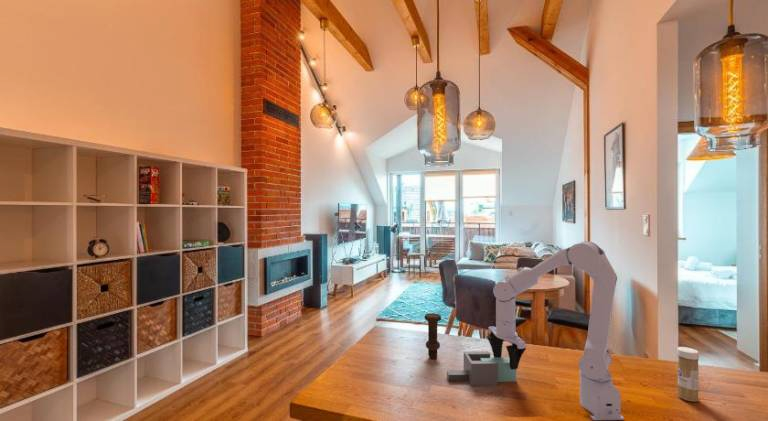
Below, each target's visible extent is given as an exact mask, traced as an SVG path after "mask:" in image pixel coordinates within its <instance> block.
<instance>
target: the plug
mask: <svg viewBox="0 0 768 421" xmlns="http://www.w3.org/2000/svg"><path fill="white" fill-rule="evenodd" d="M480 361H497V363H498V383H499V382H502V383H503V382H506V383H507V382H508V383H509V382H517V369H514V370H512V369H511V368H510V360H509V356H508V357H507V356H506V357H503V356H501V357H494V356H493V357H490V358H480Z"/></svg>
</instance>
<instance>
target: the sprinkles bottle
mask: <svg viewBox="0 0 768 421" xmlns="http://www.w3.org/2000/svg"><path fill="white" fill-rule="evenodd" d="M676 354H677V359H678V360H677V394H676V395H677V396H678V397H679V398H680V399H682V400H684V401H688V402H694V403H695V402H699V360H700V352H699V351H698V350H697V349H694V348H691V347H685V346H678V347H677V350H676Z"/></svg>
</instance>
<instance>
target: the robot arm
mask: <svg viewBox="0 0 768 421" xmlns="http://www.w3.org/2000/svg"><path fill="white" fill-rule="evenodd" d="M572 265H573V266H575V267H577V268H579V269H580V270H583V271H584V272H585V273H586V274H587V275H588V276H589V277H590V278H591V279H592V280H593V285H592V286H593V287H592V296H591V303H590V311H589V312H590V313H589V321H588V326H587V327H588V330H587V337H586V342H585V345H584V350H583V354H582V356H581V357H580V358H579V359H578V367H579V403H580V406H582V408H584V409H585V410H586V411H589V412H590V413H591V414H588V417H590V418H591V420H593V421H619V420H620V421H623V420H624V419H625V417H624V416H623V415H622V413H621V412H622V410H621V407H622V404H621V401H622V400H621V392H620V391H619V389H618V388H617V387H616V386H615V385H614V382H613V379H612V378H613V377H612V374H611V372H610V370H609V367H610V366H611V364H612V355H611V353H610V343H609V338H610V332H611V330H610V329H611V321H612V312H613V304H614V297H615V296H614V295H615V289H616V288H615V287H616V280H617V274H616V271H615V270H614V268H613V266H612V264H611V262H610V261H609V259H608V258H607V256H606V252H605V250H603V248H601V247H600V246H599V245H597V244H596V243H595V242H593V241H589V240H585V241H581V242H579V243H574V244H572V245H571V246H570V247H569V246H568V247H567V248H563V249H561V250H558V251H557V252H555V253H553V254H552V255H551V256H549V257H547V258H546V259H544V260H542V261H541V262H539V263H538V264H537V265H535V266H533V267H527V266H525V267H519V268H517V269H516V272H515V273H513V274H511V275H510V276H509V275H507V276H505V277H504V280H502V281H498V282H497V283H496V284H494V286H493V289H492V292H493V295H494V297H495V326H488V334H489V335H487V336H486V338H487V340H488V342H489V345H490V347H491V351H492V355H493V358H494V357H502V354H503V345H504V341H506V342H507V343H510V344H511V345H506V346H505V347H506V350H507V354H508V357H509V360H510V368H511V369H512V370H514V369H516V370H518V369H519V364H520V361H521V358H522V356H523V354H524V352H526V349H527V348H526V342H525V340H523V339H522V338H520V337H519V336H518V332H516V324H517V323H516V297H517V296H518V295H520V294H522V293H523V292H525V291H527V290H529V289H531V288H533V287H534V286H536V285H537V284H538V281H539V278H541V277H542V276H544V275H546V274H547V273H550V272H552V271H553V270H555V269H556V268H558V267H560V266H572Z"/></svg>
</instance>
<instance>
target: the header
mask: <svg viewBox="0 0 768 421" xmlns="http://www.w3.org/2000/svg"><path fill="white" fill-rule="evenodd" d="M480 358H491V353H490V351H489V350H488V351H487V350H486V351H484V350H483V351H480V350H479V351H474V350H473V351H463V369H459V370H458V369H455V370H453V369H452V370H451V369H450V370H446V378H447V380H448V382H468V383H469V385H470V386H471V387H498V386H499V382H498V363H497V361H480Z"/></svg>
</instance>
